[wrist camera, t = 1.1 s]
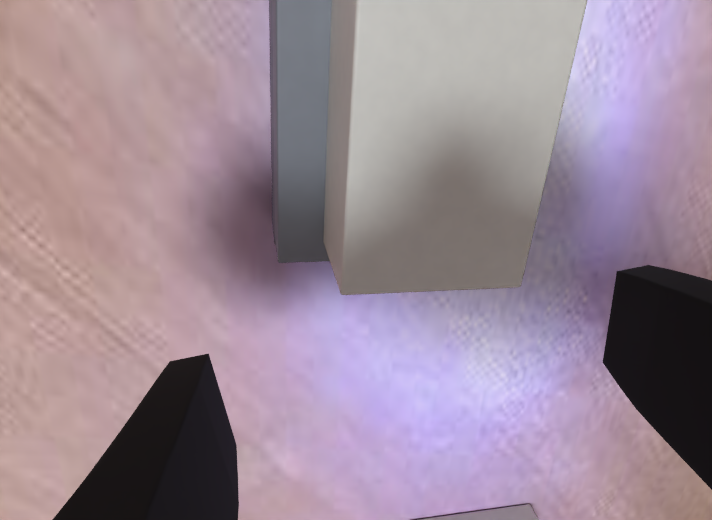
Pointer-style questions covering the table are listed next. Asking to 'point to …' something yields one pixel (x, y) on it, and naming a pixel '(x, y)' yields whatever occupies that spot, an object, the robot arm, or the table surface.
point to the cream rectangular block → (441, 138)
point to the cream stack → (494, 514)
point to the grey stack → (299, 125)
